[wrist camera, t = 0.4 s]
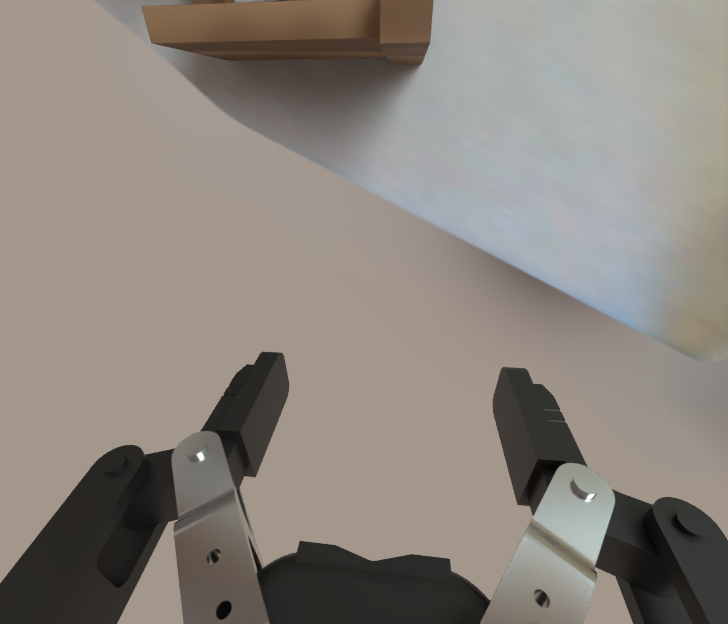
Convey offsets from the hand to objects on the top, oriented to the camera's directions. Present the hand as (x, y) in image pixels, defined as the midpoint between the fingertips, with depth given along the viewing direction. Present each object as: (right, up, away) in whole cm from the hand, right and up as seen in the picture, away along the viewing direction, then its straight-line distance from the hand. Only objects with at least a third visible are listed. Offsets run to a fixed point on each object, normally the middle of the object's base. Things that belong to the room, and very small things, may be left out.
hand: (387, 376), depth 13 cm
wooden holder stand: (-6, +28, +16) cm, 33 cm away
